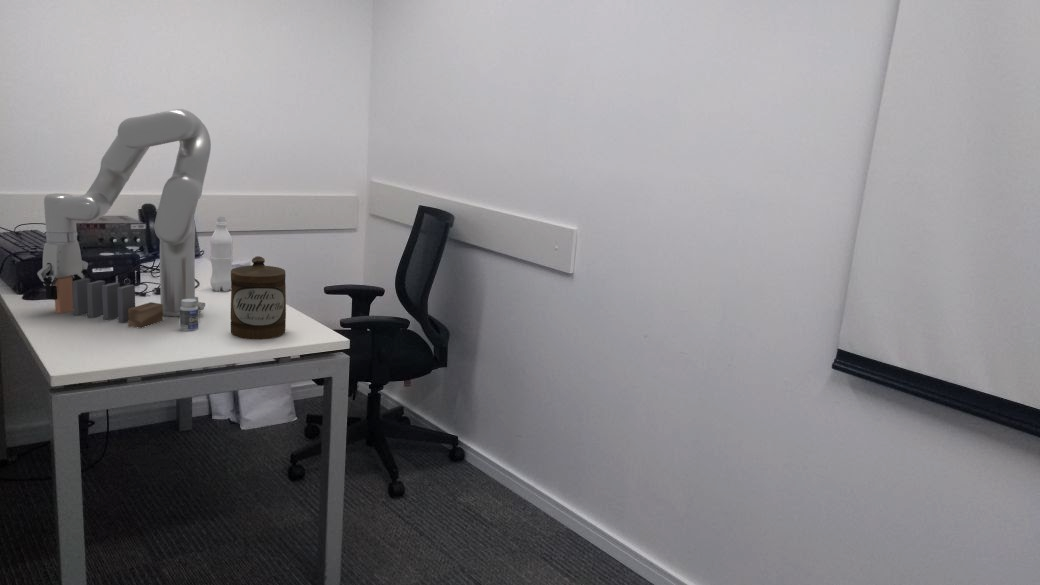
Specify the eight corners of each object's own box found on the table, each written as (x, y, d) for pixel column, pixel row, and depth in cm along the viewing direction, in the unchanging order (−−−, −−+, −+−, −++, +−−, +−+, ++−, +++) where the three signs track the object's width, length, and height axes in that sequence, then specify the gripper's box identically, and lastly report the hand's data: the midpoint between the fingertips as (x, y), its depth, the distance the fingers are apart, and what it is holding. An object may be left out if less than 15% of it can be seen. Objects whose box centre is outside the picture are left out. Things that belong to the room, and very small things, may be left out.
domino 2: (91, 312, 227) (89, 278, 225) (78, 315, 222) (76, 281, 220) (86, 311, 227) (85, 278, 225) (73, 315, 222) (71, 281, 220)
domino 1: (73, 309, 228) (72, 276, 226) (60, 313, 223) (58, 279, 221) (69, 308, 228) (67, 275, 226) (55, 312, 224) (53, 278, 222)
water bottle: (224, 286, 270) (224, 215, 265) (237, 290, 266) (237, 218, 261) (206, 289, 265) (205, 216, 259) (218, 293, 261) (218, 219, 255)
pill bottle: (191, 332, 216) (191, 302, 214) (176, 329, 217) (176, 300, 215) (201, 328, 220) (201, 299, 218) (186, 325, 221) (186, 297, 219)
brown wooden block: (162, 320, 224) (162, 304, 223) (141, 328, 215) (140, 310, 214) (150, 318, 225) (150, 302, 224) (128, 326, 216) (128, 308, 215)
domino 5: (135, 318, 224) (134, 285, 222) (123, 322, 219) (122, 288, 217) (130, 318, 224) (129, 284, 222) (118, 322, 219) (117, 287, 217)
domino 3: (106, 314, 226) (104, 281, 224) (93, 318, 221) (91, 284, 219) (101, 313, 226) (100, 280, 224) (88, 317, 221) (86, 283, 219)
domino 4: (120, 316, 225) (119, 283, 223) (108, 320, 220) (106, 286, 218) (116, 315, 225) (114, 282, 223) (103, 319, 220) (101, 285, 218)
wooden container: (232, 341, 211) (231, 261, 206) (229, 326, 224) (229, 251, 219) (288, 339, 217) (289, 261, 212) (282, 324, 230) (283, 252, 225)
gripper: (74, 232, 230) (77, 288, 234) (25, 240, 214) (29, 300, 218) (95, 234, 229) (98, 291, 232) (48, 242, 212) (52, 303, 216)
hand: (65, 295), depth 225 cm, fingers open, 9 cm apart
